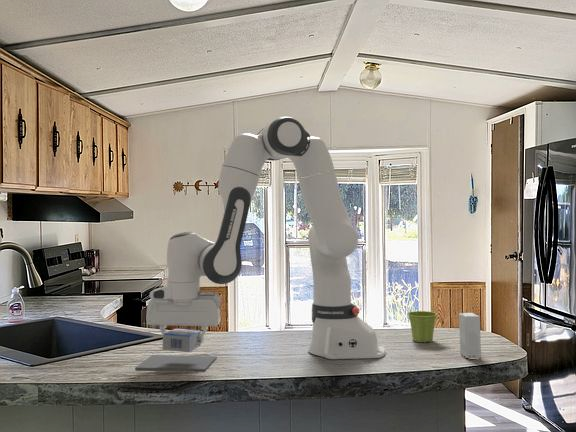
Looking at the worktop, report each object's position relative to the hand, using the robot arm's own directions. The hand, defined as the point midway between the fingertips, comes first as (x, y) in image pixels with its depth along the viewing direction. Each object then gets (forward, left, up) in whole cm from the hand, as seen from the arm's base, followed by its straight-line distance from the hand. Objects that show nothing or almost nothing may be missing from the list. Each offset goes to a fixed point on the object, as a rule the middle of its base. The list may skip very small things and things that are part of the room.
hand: (183, 341), depth 159 cm
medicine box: (0, +6, +1) cm, 6 cm away
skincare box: (-79, -14, -6) cm, 81 cm away
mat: (+2, 0, -6) cm, 6 cm away
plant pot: (-68, -33, -7) cm, 76 cm away
